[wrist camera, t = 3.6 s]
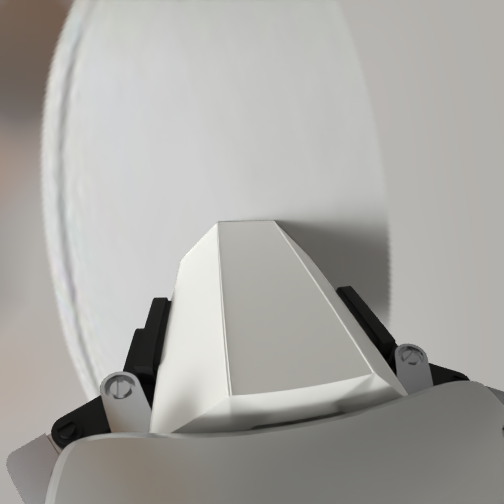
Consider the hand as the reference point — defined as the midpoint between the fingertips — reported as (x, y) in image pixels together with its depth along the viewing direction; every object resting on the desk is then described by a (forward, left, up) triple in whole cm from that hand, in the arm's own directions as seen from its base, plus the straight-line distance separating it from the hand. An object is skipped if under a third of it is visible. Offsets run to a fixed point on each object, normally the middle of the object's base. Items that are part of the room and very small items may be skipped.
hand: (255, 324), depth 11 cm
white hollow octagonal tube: (0, 0, -4) cm, 4 cm away
